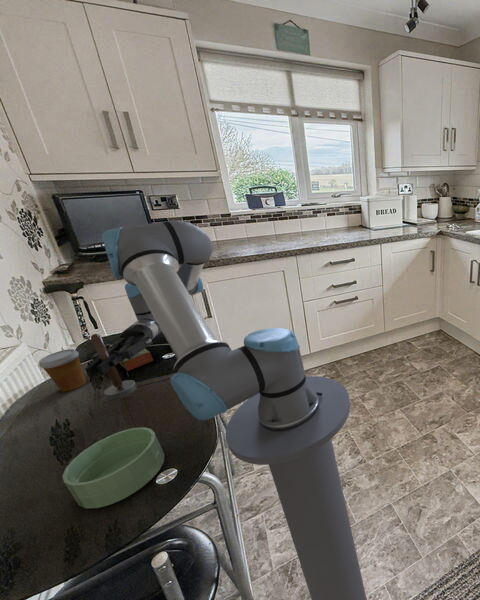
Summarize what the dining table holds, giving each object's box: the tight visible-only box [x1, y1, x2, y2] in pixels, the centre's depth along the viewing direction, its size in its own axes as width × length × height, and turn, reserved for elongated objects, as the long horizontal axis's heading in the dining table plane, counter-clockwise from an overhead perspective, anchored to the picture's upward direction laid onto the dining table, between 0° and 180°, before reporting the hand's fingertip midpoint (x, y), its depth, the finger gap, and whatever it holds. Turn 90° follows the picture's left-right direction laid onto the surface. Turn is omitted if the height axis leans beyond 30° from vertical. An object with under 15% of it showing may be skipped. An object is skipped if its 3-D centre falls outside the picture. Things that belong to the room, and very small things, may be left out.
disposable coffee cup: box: [38, 348, 87, 392], centre depth 109 cm, size 10×10×12 cm
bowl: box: [62, 426, 165, 510], centre depth 70 cm, size 15×15×7 cm
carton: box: [118, 348, 154, 372], centre depth 124 cm, size 8×16×4 cm, turn 53°
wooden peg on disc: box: [90, 333, 138, 402], centre depth 91 cm, size 7×7×19 cm
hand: (94, 371), depth 86 cm, fingers closed on wooden peg on disc, 2 cm apart
